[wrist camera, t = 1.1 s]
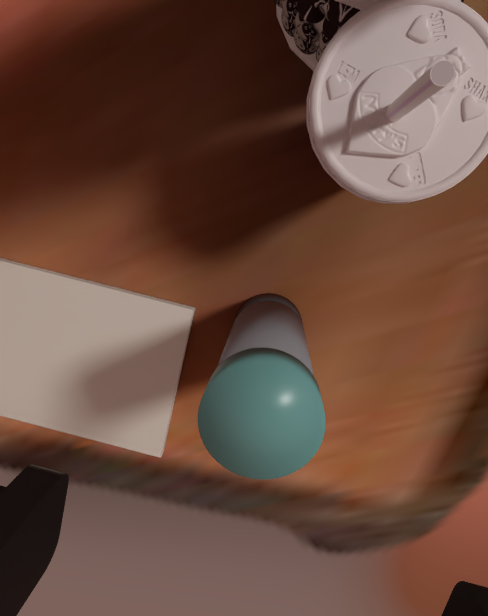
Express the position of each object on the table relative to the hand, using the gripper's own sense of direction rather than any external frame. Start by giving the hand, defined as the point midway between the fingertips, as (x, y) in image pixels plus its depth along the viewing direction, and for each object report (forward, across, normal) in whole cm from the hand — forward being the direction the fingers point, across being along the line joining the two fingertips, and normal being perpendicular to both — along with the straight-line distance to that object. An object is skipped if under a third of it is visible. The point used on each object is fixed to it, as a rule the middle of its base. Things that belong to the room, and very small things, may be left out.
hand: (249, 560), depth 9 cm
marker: (+18, 0, 0) cm, 18 cm away
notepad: (+18, +12, +5) cm, 22 cm away
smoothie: (+18, -2, -11) cm, 21 cm away
